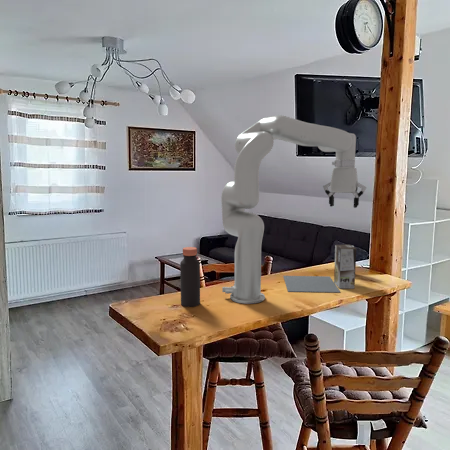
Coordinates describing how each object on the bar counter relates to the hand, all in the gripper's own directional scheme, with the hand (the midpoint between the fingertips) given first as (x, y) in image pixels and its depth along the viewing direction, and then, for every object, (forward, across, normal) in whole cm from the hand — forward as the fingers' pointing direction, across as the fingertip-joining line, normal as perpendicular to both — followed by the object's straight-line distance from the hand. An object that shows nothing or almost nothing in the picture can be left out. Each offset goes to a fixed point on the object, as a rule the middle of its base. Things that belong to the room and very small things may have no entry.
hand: (343, 206), depth 173 cm
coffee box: (+31, +3, -6) cm, 32 cm away
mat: (+31, -9, -12) cm, 34 cm away
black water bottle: (+31, -37, -57) cm, 74 cm away
